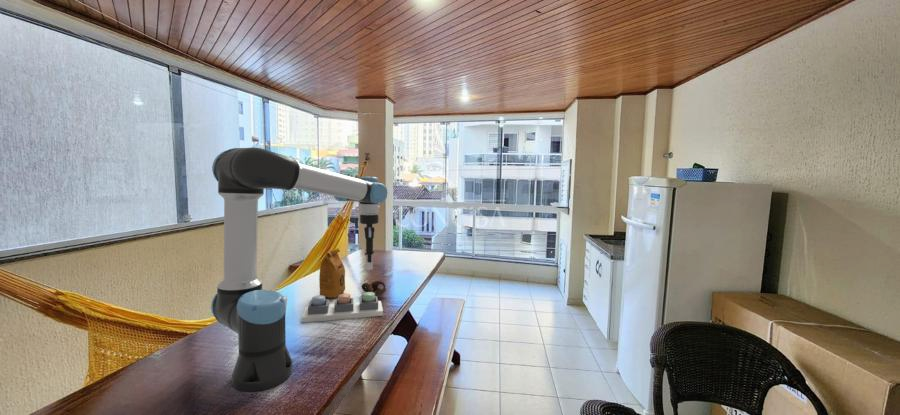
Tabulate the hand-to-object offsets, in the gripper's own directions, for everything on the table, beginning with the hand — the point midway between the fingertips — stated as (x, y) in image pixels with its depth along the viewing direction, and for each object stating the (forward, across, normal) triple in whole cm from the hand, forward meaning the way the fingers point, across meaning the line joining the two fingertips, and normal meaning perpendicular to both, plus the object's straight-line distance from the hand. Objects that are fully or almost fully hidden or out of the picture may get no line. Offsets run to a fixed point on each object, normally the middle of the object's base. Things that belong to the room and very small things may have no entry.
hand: (369, 269), depth 144 cm
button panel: (+18, 0, +10) cm, 21 cm away
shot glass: (+18, +4, +36) cm, 41 cm away
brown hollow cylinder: (+19, +19, -3) cm, 27 cm away
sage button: (+14, 0, 0) cm, 14 cm away
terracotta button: (+14, 0, +10) cm, 17 cm away
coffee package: (+19, +24, +16) cm, 34 cm away
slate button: (+14, 0, +20) cm, 24 cm away
